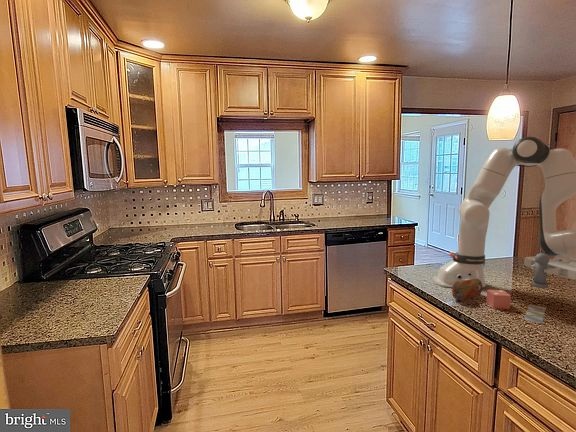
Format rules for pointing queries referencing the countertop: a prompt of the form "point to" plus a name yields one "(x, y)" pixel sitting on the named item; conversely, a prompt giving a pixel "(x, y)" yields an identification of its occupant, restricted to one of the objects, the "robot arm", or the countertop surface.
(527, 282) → the countertop surface
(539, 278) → the pawn
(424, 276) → the countertop surface
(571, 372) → the countertop surface
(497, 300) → the die
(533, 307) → the board
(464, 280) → the tin
